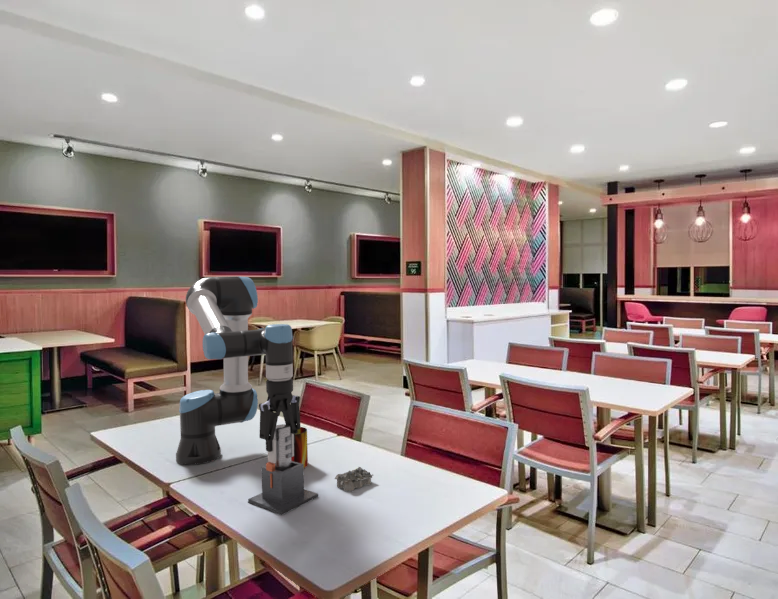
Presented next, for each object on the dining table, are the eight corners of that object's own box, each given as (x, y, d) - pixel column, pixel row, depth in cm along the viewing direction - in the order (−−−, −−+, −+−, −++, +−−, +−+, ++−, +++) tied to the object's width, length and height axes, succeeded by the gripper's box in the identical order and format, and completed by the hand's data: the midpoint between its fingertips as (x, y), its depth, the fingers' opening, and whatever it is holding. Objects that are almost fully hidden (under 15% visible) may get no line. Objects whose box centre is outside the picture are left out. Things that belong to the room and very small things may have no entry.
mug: (292, 476, 169) (291, 440, 168) (274, 464, 180) (273, 430, 179) (318, 469, 174) (317, 434, 174) (300, 458, 186) (299, 424, 185)
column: (269, 496, 151) (267, 427, 150) (284, 489, 155) (282, 423, 154) (283, 501, 147) (281, 431, 146) (298, 494, 152) (296, 426, 151)
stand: (248, 502, 150) (247, 461, 149) (285, 486, 161) (284, 447, 161) (281, 515, 142) (280, 471, 141) (318, 496, 153) (317, 456, 152)
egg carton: (346, 493, 156) (346, 480, 155) (332, 486, 161) (332, 473, 161) (375, 484, 162) (375, 471, 162) (360, 477, 168) (360, 464, 168)
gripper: (262, 385, 140) (263, 471, 141) (312, 374, 155) (314, 452, 156) (244, 382, 144) (245, 465, 145) (295, 372, 159) (296, 447, 160)
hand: (281, 458), depth 150 cm, fingers open, 6 cm apart
